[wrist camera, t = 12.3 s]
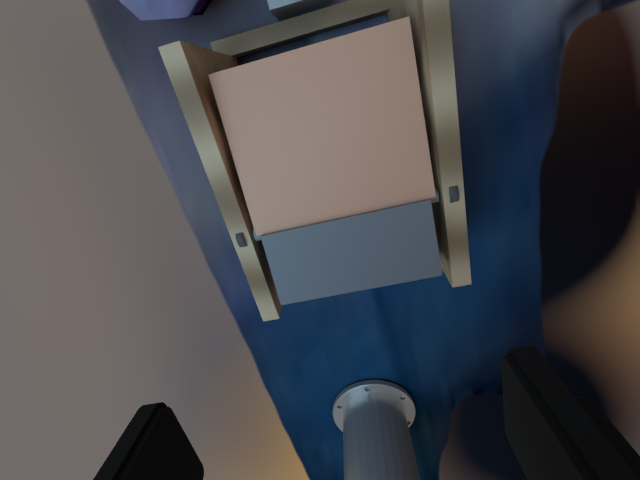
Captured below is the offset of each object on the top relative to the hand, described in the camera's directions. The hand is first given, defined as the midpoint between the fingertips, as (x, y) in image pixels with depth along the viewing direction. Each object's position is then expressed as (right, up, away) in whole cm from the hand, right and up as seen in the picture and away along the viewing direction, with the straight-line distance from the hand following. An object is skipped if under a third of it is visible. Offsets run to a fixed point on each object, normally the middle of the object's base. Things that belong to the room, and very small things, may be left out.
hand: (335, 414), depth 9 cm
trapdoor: (+1, +10, +19) cm, 22 cm away
